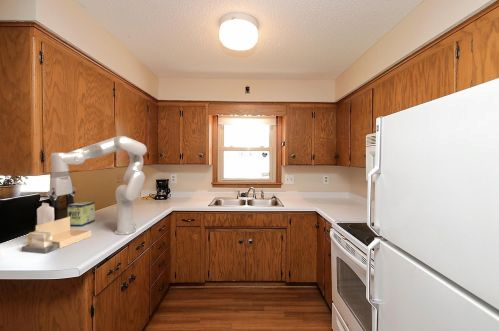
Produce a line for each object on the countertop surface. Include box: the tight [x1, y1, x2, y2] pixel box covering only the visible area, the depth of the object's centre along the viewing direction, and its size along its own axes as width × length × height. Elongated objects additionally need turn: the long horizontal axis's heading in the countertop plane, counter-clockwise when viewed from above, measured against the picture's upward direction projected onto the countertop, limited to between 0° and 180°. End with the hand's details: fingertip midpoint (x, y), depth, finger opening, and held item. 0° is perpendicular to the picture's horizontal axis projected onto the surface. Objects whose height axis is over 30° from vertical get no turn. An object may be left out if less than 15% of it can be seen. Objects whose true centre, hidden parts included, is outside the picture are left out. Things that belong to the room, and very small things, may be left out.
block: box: [27, 230, 52, 248], centre depth 136 cm, size 4×10×7 cm, turn 78°
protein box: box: [66, 201, 96, 227], centre depth 191 cm, size 10×16×16 cm
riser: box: [21, 243, 58, 255], centre depth 136 cm, size 6×15×3 cm, turn 79°
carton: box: [35, 216, 92, 250], centre depth 151 cm, size 21×16×12 cm
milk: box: [36, 202, 55, 225], centre depth 156 cm, size 6×6×22 cm
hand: (63, 205), depth 143 cm, fingers open, 9 cm apart
